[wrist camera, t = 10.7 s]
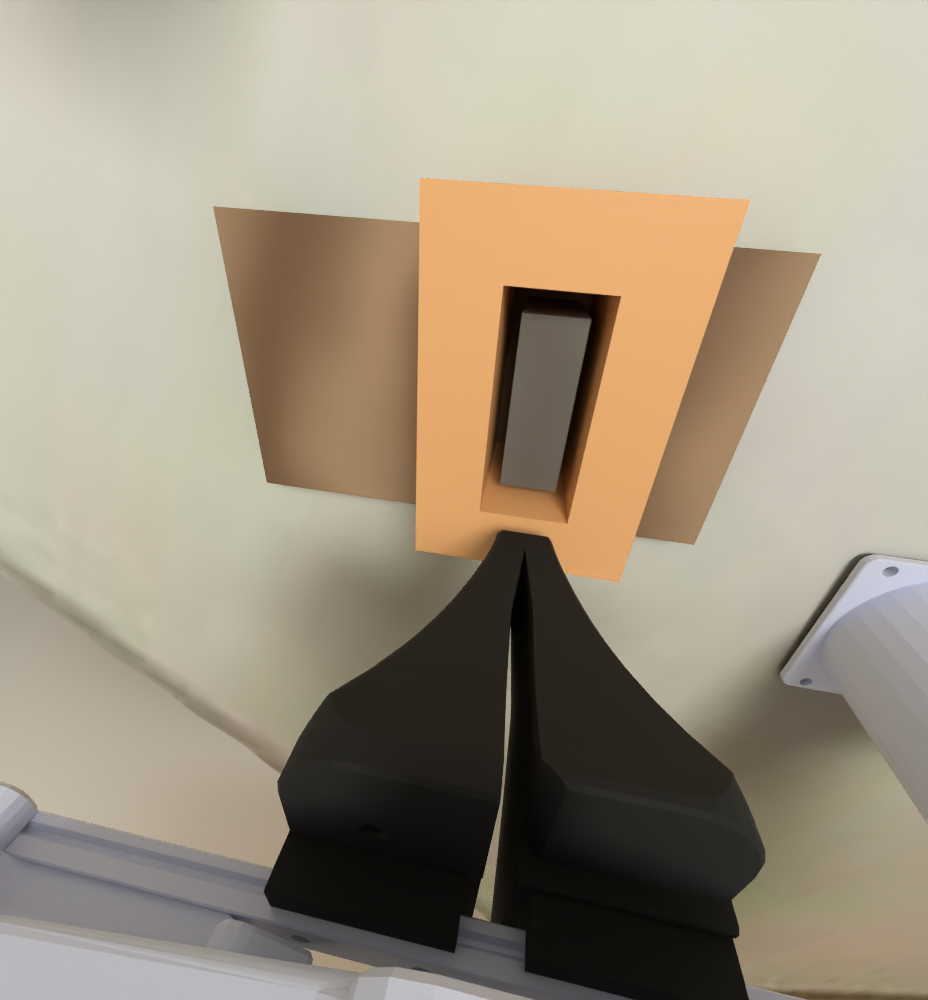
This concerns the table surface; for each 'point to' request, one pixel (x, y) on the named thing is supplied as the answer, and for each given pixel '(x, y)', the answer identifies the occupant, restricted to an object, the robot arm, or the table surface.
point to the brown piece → (528, 372)
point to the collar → (606, 364)
